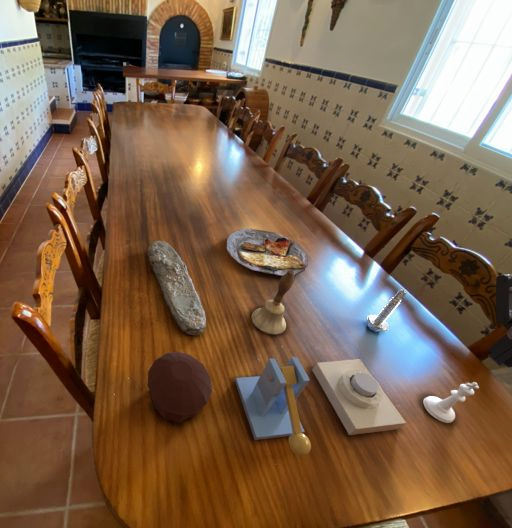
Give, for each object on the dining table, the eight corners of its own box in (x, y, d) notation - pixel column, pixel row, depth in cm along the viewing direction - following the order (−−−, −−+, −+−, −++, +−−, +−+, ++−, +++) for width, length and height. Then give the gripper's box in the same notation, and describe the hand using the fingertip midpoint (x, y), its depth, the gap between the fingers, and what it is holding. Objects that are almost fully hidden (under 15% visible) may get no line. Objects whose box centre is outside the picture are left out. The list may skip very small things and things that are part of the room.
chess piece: (457, 426, 55) (500, 401, 49) (428, 417, 57) (465, 391, 50) (447, 402, 59) (485, 375, 53) (419, 393, 60) (453, 366, 54)
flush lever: (305, 451, 47) (318, 457, 44) (286, 454, 47) (298, 459, 44) (287, 365, 51) (297, 365, 48) (270, 367, 51) (279, 366, 48)
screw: (389, 333, 72) (374, 337, 71) (372, 318, 76) (358, 322, 74) (422, 295, 64) (406, 299, 63) (401, 280, 67) (386, 284, 66)
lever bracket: (302, 434, 53) (333, 399, 45) (254, 440, 51) (277, 405, 43) (276, 377, 61) (298, 339, 53) (234, 381, 60) (250, 342, 52)
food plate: (299, 241, 102) (302, 232, 99) (313, 287, 84) (318, 277, 81) (226, 230, 104) (228, 221, 102) (224, 271, 86) (226, 262, 84)
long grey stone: (174, 344, 67) (214, 337, 70) (178, 330, 64) (219, 324, 67) (140, 248, 92) (170, 245, 94) (142, 234, 88) (173, 232, 91)
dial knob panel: (397, 429, 54) (412, 418, 52) (349, 435, 53) (361, 424, 50) (353, 366, 64) (364, 354, 62) (311, 369, 63) (320, 357, 60)
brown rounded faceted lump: (137, 382, 58) (138, 352, 52) (186, 363, 62) (193, 333, 56) (162, 443, 50) (166, 416, 44) (217, 417, 54) (228, 389, 48)
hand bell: (254, 304, 77) (273, 255, 67) (287, 315, 74) (312, 267, 64) (248, 326, 71) (267, 277, 61) (283, 340, 68) (309, 290, 58)
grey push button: (378, 396, 55) (383, 391, 54) (359, 398, 54) (363, 393, 53) (364, 376, 58) (368, 371, 57) (345, 377, 57) (350, 373, 56)
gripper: (537, 213, 31) (430, 321, 42) (745, 308, 21) (532, 418, 32) (593, 212, 32) (475, 318, 43) (819, 303, 22) (587, 411, 33)
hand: (499, 361), depth 37 cm, fingers closed
